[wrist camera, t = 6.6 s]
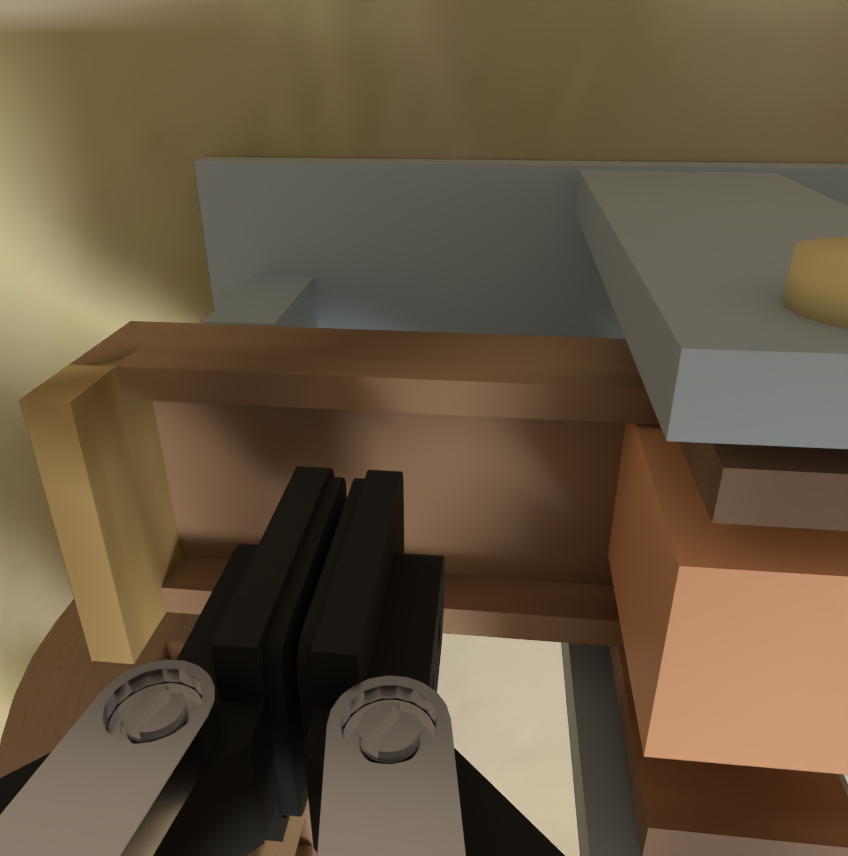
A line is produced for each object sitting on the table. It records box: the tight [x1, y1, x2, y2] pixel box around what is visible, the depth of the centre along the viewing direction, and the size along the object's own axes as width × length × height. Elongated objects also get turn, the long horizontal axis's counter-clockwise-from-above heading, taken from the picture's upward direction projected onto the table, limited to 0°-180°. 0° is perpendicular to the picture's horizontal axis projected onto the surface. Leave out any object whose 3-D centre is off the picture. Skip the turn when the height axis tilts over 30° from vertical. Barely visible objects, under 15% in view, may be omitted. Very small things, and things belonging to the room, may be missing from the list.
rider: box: [608, 423, 848, 775], centre depth 11 cm, size 5×3×4 cm, turn 90°
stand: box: [194, 157, 848, 856], centre depth 14 cm, size 23×11×12 cm, turn 90°
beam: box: [19, 321, 848, 856], centre depth 12 cm, size 22×7×6 cm, turn 90°
